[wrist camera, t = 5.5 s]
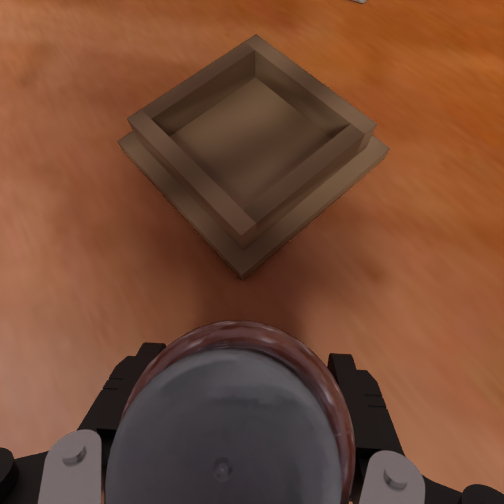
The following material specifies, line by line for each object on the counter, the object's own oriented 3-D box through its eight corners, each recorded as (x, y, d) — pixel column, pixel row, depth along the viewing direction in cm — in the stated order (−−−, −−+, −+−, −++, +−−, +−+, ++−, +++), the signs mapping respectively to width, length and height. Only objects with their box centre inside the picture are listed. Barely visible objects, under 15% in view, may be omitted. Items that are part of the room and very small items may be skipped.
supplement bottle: (177, 361, 17) (34, 333, 6) (288, 331, 17) (331, 255, 7) (200, 497, 15) (44, 804, 4) (326, 458, 15) (479, 648, 5)
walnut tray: (123, 151, 22) (102, 117, 19) (257, 60, 24) (257, 19, 22) (242, 280, 18) (239, 263, 15) (384, 158, 21) (403, 124, 18)
